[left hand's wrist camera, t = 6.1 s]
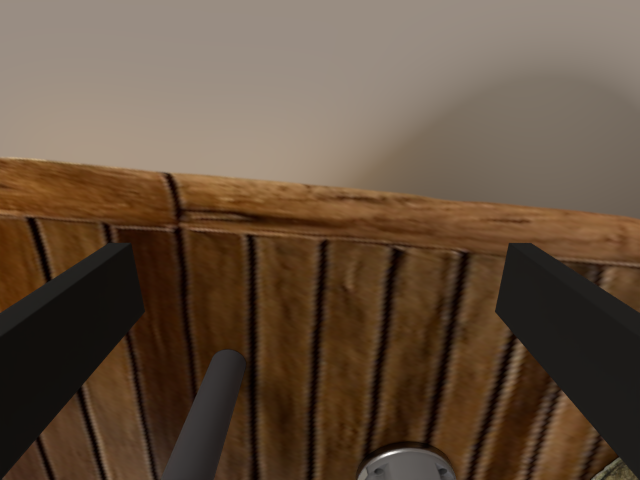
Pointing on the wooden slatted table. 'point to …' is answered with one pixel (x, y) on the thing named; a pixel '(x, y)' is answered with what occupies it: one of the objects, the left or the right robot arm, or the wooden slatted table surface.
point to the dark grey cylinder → (207, 420)
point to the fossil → (616, 472)
